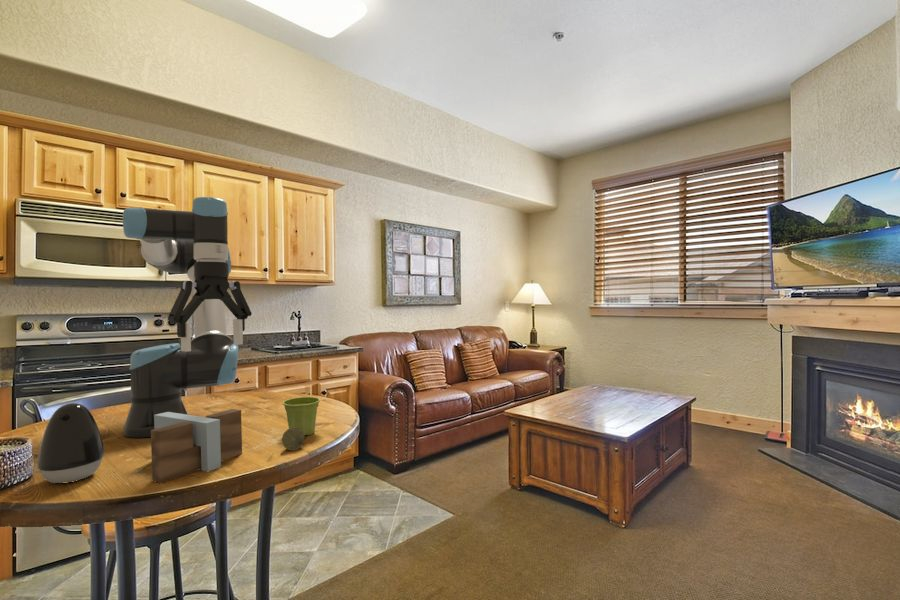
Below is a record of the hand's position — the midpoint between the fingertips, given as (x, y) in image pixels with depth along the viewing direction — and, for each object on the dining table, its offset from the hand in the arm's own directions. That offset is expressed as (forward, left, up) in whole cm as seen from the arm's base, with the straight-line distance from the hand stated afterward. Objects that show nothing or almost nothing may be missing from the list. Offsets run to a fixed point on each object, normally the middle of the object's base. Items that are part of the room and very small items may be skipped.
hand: (213, 347), depth 110 cm
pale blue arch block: (+7, -12, -24) cm, 27 cm away
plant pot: (+15, +14, -24) cm, 31 cm away
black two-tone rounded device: (-6, -27, -24) cm, 36 cm away
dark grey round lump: (+22, +4, -24) cm, 33 cm away
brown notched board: (+12, -12, -24) cm, 29 cm away
